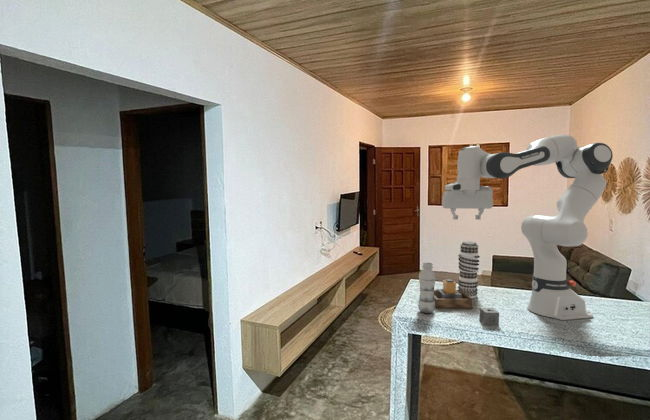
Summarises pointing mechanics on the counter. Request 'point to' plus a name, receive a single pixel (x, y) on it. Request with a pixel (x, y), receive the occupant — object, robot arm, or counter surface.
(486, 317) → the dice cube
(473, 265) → the decorative candle
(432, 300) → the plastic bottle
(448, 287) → the block
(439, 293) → the walled box
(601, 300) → the counter surface
